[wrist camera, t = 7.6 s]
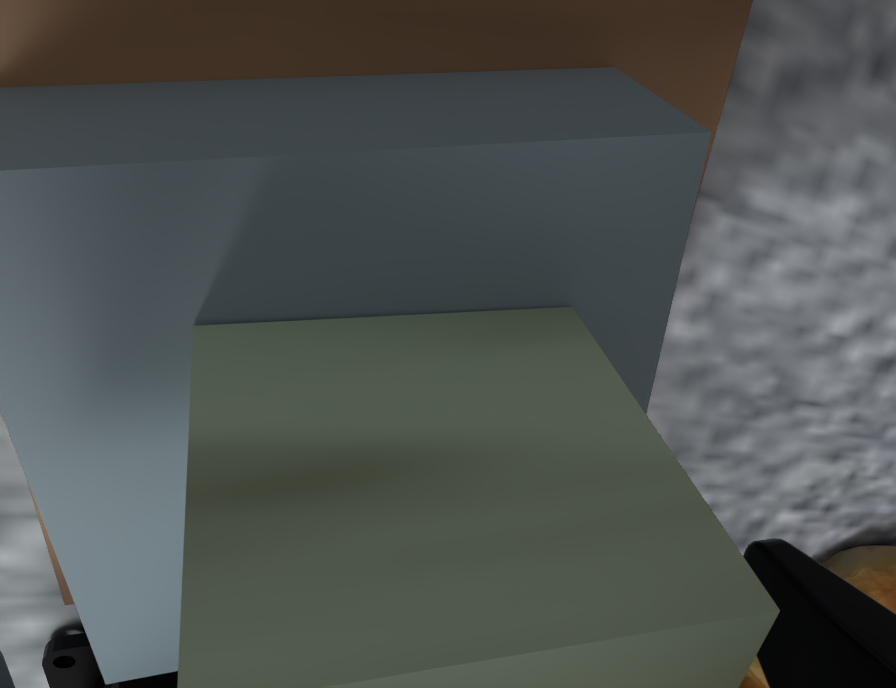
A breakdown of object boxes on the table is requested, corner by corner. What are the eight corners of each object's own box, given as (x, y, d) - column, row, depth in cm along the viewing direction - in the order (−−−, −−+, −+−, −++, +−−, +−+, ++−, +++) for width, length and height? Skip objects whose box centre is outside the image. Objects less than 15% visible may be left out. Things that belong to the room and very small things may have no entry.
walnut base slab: (559, 449, 21) (603, 532, 19) (85, 499, 18) (65, 605, 16) (664, -33, 14) (753, -1, 12) (-60, -75, 11) (-133, -44, 9)
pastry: (838, 504, 25) (925, 601, 22) (936, 553, 28) (1023, 643, 25) (646, 676, 28) (698, 782, 25) (754, 701, 31) (811, 798, 28)
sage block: (518, 548, 13) (644, 862, 10) (222, 588, 12) (224, 967, 8) (571, 306, 11) (780, 610, 7) (193, 325, 9) (176, 712, 5)
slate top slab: (552, 481, 17) (604, 590, 15) (124, 546, 15) (105, 684, 13) (614, 66, 12) (711, 132, 10) (-17, 87, 10) (-91, 175, 8)
